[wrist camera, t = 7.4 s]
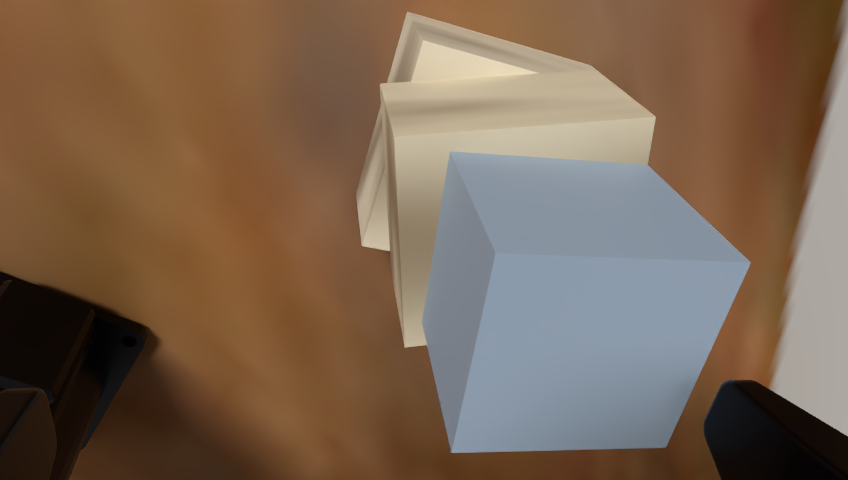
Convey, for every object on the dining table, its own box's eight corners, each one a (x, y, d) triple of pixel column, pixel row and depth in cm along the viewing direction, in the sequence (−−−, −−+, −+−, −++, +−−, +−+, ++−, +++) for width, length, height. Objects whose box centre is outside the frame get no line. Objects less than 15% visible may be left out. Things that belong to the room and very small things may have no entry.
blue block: (593, 325, 16) (665, 447, 13) (421, 322, 16) (451, 452, 12) (647, 164, 14) (751, 263, 11) (449, 151, 13) (495, 253, 10)
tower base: (519, 225, 23) (548, 281, 20) (355, 190, 21) (361, 245, 18) (587, 63, 20) (634, 99, 17) (406, 10, 19) (423, 40, 16)
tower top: (573, 251, 20) (619, 323, 17) (391, 269, 19) (404, 347, 16) (595, 69, 17) (655, 116, 14) (379, 83, 16) (393, 136, 13)
